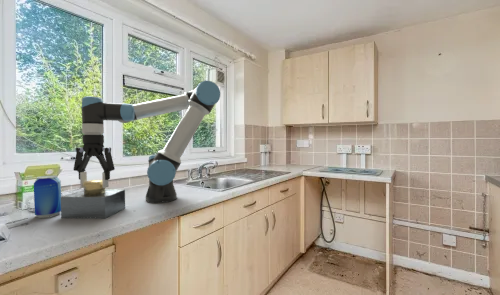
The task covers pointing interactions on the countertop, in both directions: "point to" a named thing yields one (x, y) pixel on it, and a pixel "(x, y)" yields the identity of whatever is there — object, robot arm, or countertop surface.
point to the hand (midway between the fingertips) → (94, 187)
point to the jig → (92, 204)
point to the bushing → (93, 187)
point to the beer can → (47, 196)
